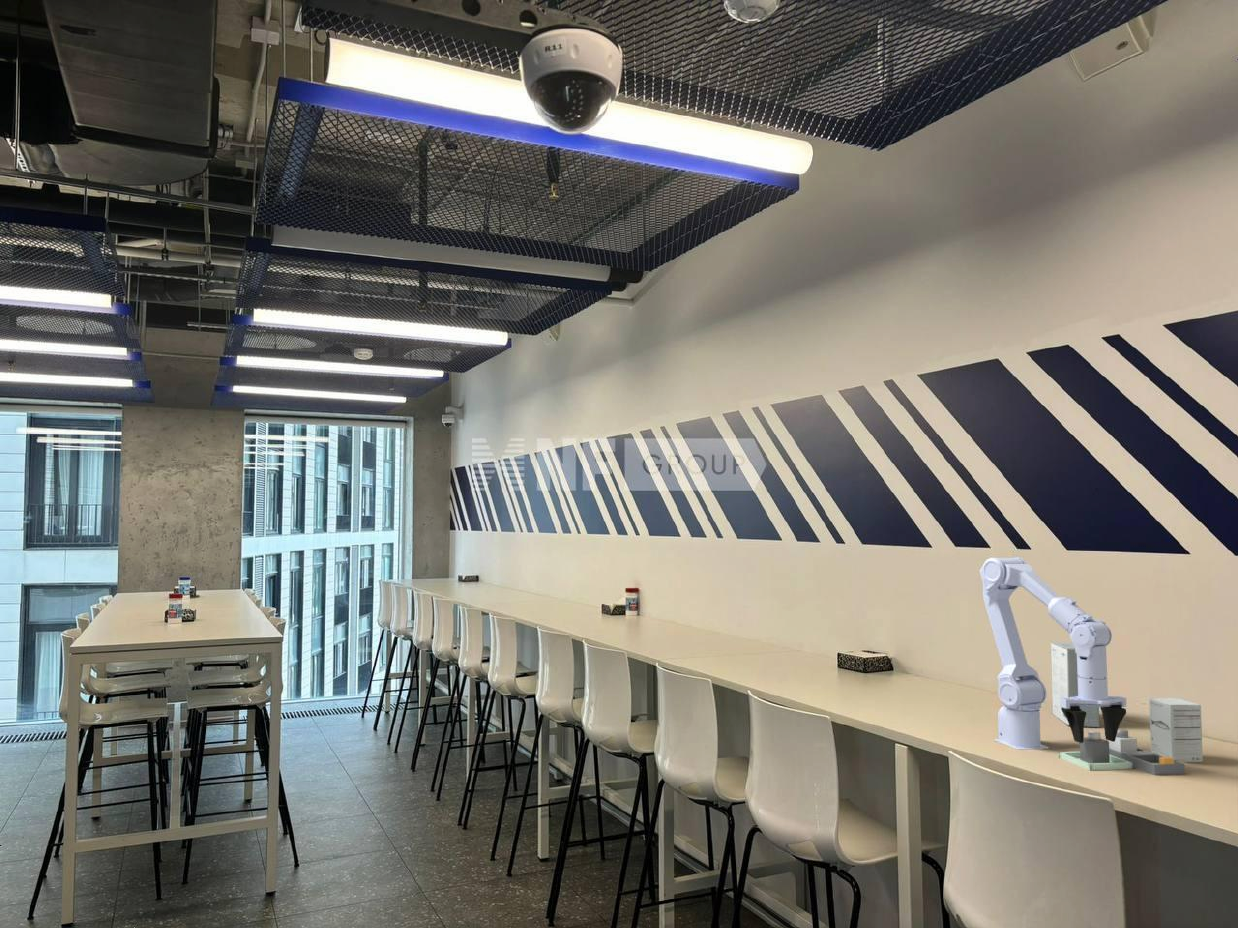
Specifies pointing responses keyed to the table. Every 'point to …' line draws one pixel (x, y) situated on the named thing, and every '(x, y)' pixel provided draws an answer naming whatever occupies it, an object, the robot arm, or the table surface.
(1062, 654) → the hard drive box
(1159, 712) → the supplement box
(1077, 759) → the tray
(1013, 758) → the table surface
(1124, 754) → the power strip
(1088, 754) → the plug
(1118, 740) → the twin plug
